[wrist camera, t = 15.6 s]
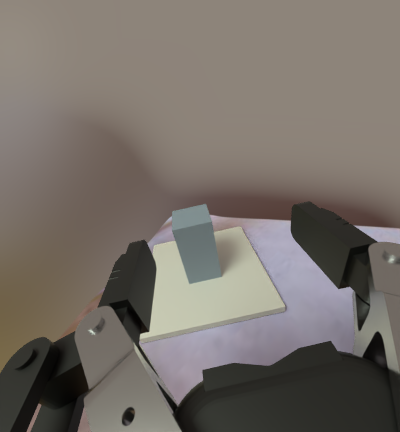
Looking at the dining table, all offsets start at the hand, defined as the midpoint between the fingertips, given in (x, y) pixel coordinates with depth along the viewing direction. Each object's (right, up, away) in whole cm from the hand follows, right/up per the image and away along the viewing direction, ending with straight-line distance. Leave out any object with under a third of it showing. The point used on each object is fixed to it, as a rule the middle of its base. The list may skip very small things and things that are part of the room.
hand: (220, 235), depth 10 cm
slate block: (-1, -7, +20) cm, 21 cm away
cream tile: (0, -8, +20) cm, 22 cm away
